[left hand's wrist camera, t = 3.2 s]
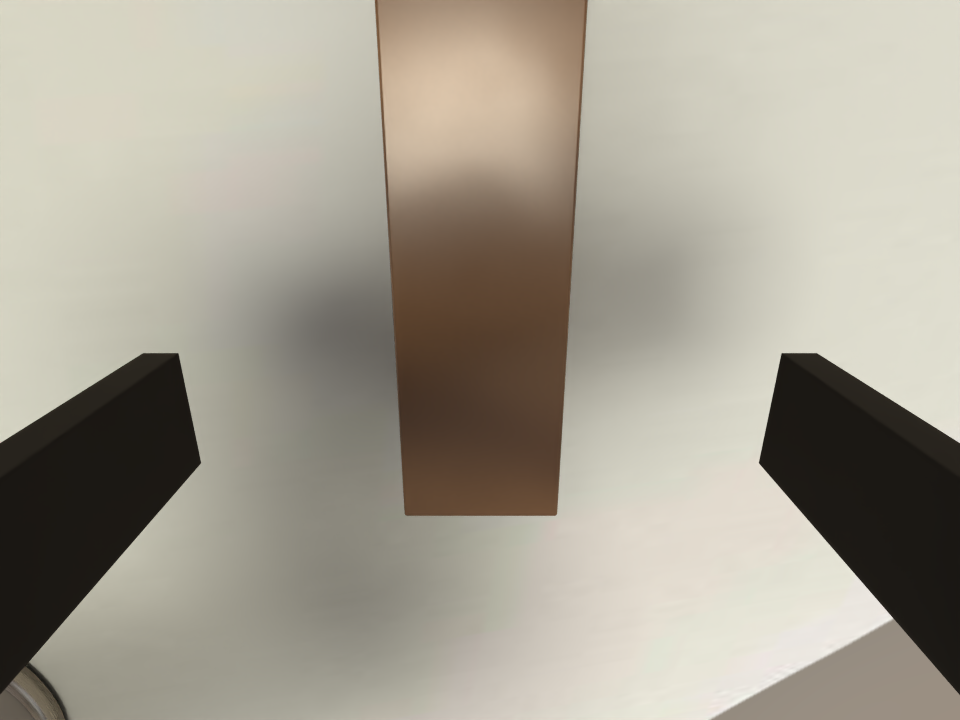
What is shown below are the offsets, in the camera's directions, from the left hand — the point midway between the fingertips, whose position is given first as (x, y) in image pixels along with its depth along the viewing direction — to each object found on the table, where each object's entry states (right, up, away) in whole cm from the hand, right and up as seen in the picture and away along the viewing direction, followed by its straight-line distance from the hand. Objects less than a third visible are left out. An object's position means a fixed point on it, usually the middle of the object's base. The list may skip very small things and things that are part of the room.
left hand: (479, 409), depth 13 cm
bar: (0, +23, +5) cm, 24 cm away
